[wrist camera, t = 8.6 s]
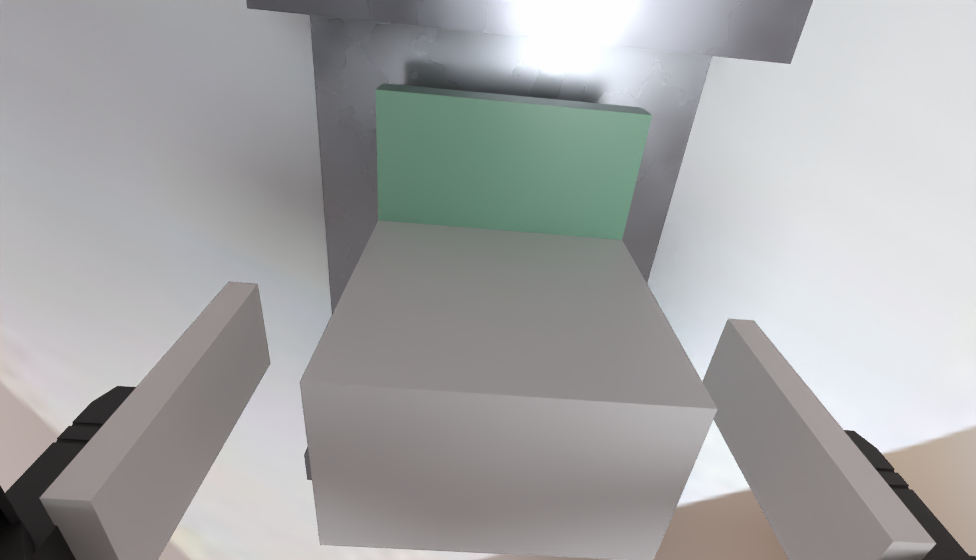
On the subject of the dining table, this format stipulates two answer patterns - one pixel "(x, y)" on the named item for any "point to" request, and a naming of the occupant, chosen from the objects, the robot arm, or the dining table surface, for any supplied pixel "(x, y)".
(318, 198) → the dining table surface
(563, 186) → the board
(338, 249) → the chassis
